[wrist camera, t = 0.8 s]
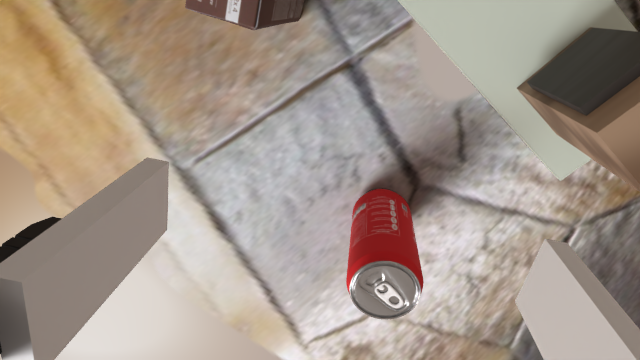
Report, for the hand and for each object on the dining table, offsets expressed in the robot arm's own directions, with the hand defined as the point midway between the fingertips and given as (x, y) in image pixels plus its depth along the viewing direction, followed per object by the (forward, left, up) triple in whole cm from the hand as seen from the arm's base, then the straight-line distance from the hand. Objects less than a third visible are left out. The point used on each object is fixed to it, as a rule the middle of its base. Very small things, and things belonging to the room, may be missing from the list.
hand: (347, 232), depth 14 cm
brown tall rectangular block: (+9, +12, -20) cm, 25 cm away
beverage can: (+9, -6, -22) cm, 24 cm away
